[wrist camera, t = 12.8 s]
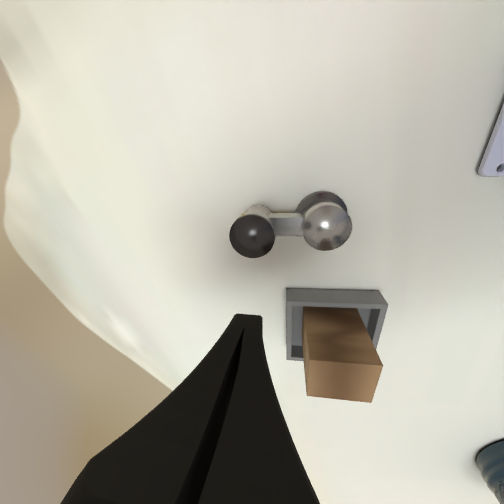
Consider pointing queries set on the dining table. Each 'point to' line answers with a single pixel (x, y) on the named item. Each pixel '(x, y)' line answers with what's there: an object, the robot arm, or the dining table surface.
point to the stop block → (338, 354)
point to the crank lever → (291, 228)
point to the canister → (493, 468)
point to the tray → (364, 300)
